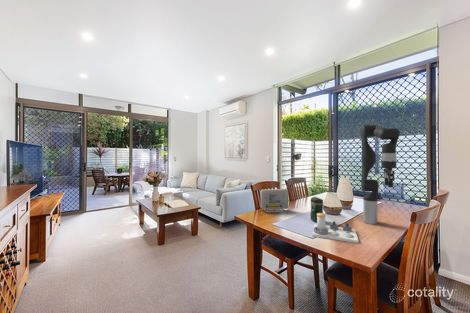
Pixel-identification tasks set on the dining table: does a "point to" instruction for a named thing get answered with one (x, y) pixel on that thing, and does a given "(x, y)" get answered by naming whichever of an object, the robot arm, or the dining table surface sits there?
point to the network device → (274, 199)
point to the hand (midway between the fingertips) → (388, 186)
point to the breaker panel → (337, 232)
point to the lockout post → (321, 222)
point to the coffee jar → (316, 207)
